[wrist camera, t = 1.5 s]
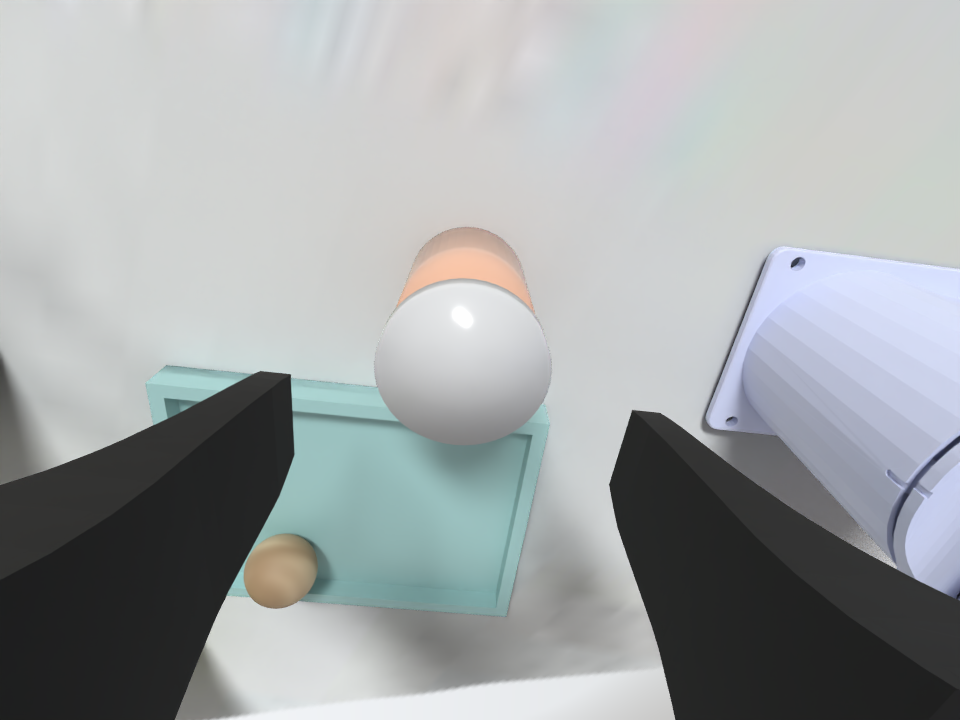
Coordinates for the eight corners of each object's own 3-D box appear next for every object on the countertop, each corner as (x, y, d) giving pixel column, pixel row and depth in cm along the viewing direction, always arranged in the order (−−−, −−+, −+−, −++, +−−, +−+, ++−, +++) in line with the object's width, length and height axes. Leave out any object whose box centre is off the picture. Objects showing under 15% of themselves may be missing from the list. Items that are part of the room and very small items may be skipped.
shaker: (536, 232, 19) (567, 300, 12) (516, 344, 21) (534, 452, 14) (411, 216, 18) (377, 277, 12) (404, 332, 20) (371, 436, 14)
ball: (325, 521, 24) (305, 577, 21) (326, 568, 26) (307, 626, 23) (257, 516, 24) (227, 571, 21) (261, 563, 25) (234, 621, 23)
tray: (545, 404, 22) (549, 424, 21) (504, 591, 27) (506, 616, 26) (166, 365, 21) (145, 383, 20) (201, 567, 26) (187, 592, 25)
